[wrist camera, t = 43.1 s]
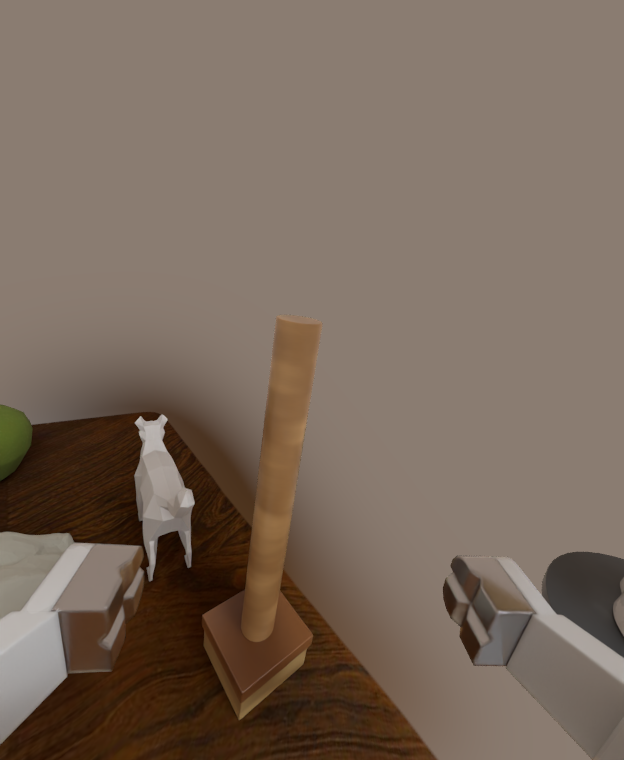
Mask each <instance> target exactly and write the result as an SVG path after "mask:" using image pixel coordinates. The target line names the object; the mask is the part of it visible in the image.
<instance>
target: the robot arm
mask: <svg viewBox="0 0 624 760" xmlns="http://www.w3.org/2000/svg"><path fill="white" fill-rule="evenodd" d="M143 558H144V552H143V547H142V546H133V545H116V544H99V543H97V544H92V543H73V544H72V545H70V546H69V547H68V548H67V549H66V550H65V551H64V553H63V554H62V555H61V557H60V558H59V559H58V561H57V562H56V563H55V565H54V566H53V567H52V569H51V570H50V571H49V573H48V574H47V576H46V577H45V578H44V580H43V581H42V582H41V584H40V585H39V586H38V588H37V589H36V590H35V592H34V593H33V594H32V596H31V597H30V598H29V600H28V601H27V602H26V604H25V605H24V606H23V608H22V609H21V610H20V611H11V612H10V613H8V614H7V615H5V616H4V617H2V618H1V619H0V744H1V743H2V742H3V741H4V740H5V739H6V738H7V737H8V736H9V735H10V734H11V733H12V732H13V731H14V730H15V729H16V728H17V727H18V726H19V725H20V724H21V723H22V722H23V721H24V720H25V719H26V718H27V717H28V716H29V715H30V714H31V713H32V712H33V711H34V710H35V709H36V708H37V707H38V706H39V705H40V704H41V703H42V702H43V701H44V700H45V699H46V698H47V697H48V696H49V695H50V694H51V693H52V692H53V690H54V689H55V688H56V687H57V686H58V685H59V684H60V683H61V682H62V681H63V680H64V679H65V678H66V677H67V673H86V672H107V671H112V670H113V667H114V665H115V662H116V660H117V658H118V655H119V653H120V650H121V648H122V645H123V643H124V641H125V638H126V629H125V624H127V623H128V622H129V621H130V620H131V619H132V618H133V617H134V616H135V614H136V611H137V609H138V606H139V603H140V600H141V596H142V592H143V587H144V571H143V570H142V569H141V568H140V565H141V563H142V561H143ZM451 568H452V570H453V573H452V574H451V575H449V576H448V577H447V578H446V579H445V583H444V586H443V596H444V597H443V598H444V602H445V606H446V609H447V611H448V613H449V615H450V618H451V619H452V620H454V622H456V623H457V624H458V625H459V626H460V627H461V628H460V638H461V640H462V642H463V644H464V646H465V649H466V650H467V652H468V655H469V657H470V659H471V661H472V663H473V665H475V666H476V665H477V666H506V669H507V670H508V671H509V672H510V673H511V674H512V675H513V677H515V679H516V680H517V681H518V682H519V683H520V684H521V685H522V686H523V687H524V688H525V689H526V690H527V691H528V692H529V693H530V694H531V695H532V696H533V698H534V699H535V700H536V701H537V702H538V703H539V704H540V705H541V706H542V707H543V708H544V709H545V710H546V711H547V712H548V713H549V714H550V715H551V717H552V718H553V719H554V720H555V721H556V722H557V723H558V724H559V725H560V726H561V727H562V728H563V729H564V730H565V731H566V732H567V733H568V734H569V735H570V737H572V739H573V740H574V741H576V743H577V744H578V745H579V746H580V747H581V748H582V749H583V750H584V751H585V752H586V753H587V754H588V755H589V757H590V758H591V759H592V760H624V658H623V657H622V656H620V655H619V654H617V653H616V652H615V651H613V650H612V649H610V648H609V647H607V646H606V645H605V644H603V643H602V642H600V641H599V640H598V639H596V638H595V637H593V636H592V635H590V634H589V633H588V632H586V631H585V630H583V629H582V628H580V627H579V626H578V625H576V624H575V623H573V622H572V621H570V620H569V619H568V618H566V617H565V616H563V615H557V614H556V613H555V612H554V610H553V609H552V608H551V606H550V605H549V604H548V603H547V601H546V600H545V599H544V598H543V596H542V595H541V594H540V593H539V592H538V590H537V589H536V588H535V586H534V585H533V584H532V583H531V581H530V580H529V579H528V577H527V576H526V575H525V574H524V572H523V571H522V570H521V569H520V567H519V566H518V565H517V564H516V562H515V561H514V560H512V559H511V558H509V557H489V556H456V557H455V558H454V559H453V560H452V563H451ZM620 588H621V592H622V593H621V595H620V596H619V597H618V598H617V599H616V601H615V602H614V605H613V614H614V618H615V621H616V623H617V625H618V627H619V629H620V631H621V633H622V634H623V636H624V578H623V579H622V580H621V581H620Z"/></svg>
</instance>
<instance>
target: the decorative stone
mask: <svg viewBox="0 0 624 760" xmlns="http://www.w3.org/2000/svg"><path fill="white" fill-rule="evenodd" d="M73 543H74V541H73V539H72V537H71V535H70V534H69V533H65V534H61V533H53V534H48V535H26V534H21V533H16V532H2V533H0V619H1V618H2V617H4V616H5V615H7V614H8V613H10V612H11V611H20V610H21V609H22V608H23V606H24V605H25V604H26V602H27V601H28V600H29V598H30V597H31V596H32V594H33V593H34V592H35V590H36V589H37V588H38V586H39V585H40V584H41V582H42V581H43V580H44V578H45V577H46V576H47V574H48V573H49V571H50V570H51V569H52V567H53V566H54V565H55V563H56V562H57V561H58V559H59V558H60V557H61V555H62V554H63V553H64V551H65V550H66V549H67V548H68V547H69V546H70V545H72V544H73Z"/></svg>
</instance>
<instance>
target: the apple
mask: <svg viewBox="0 0 624 760" xmlns="http://www.w3.org/2000/svg"><path fill="white" fill-rule="evenodd" d="M32 429H33V428H32V426H31V423H30V421H29V420H28V418H27V417H26V415H25V414H24V413H23V412H21V411H19V410H16V409H14V408H11V407H8V406H5V405H0V481H1V480H3V479H4V478H6V477H7V476H8V475H10V474H11V473H13V472H14V471H15V470H16V469H17V467H18V466H19V464H20V463H21V461H22V459H23V458H24V456H25V454H26V452H27V451H28V449H29V447H30V446H31V439H32Z"/></svg>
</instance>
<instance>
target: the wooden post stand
mask: <svg viewBox="0 0 624 760" xmlns="http://www.w3.org/2000/svg"><path fill="white" fill-rule="evenodd" d="M321 330H322V322H320V321H319V320H316V319H312V318H307V317H303V316H295V315H278V316H277V317H276V325H275V333H274V342H273V351H272V360H271V368H270V377H269V385H268V394H267V403H266V411H265V421H264V430H263V438H262V446H261V456H260V464H259V473H258V481H257V490H256V498H255V507H254V516H253V524H252V533H251V542H250V551H249V559H248V568H247V577H246V585H245V590H243V591H242V592H240V593H238V594H237V595H235V596H233V597H232V598H230V599H228V600H226V601H225V602H223V603H221V604H220V605H218V606H216V607H215V608H213V609H211V610H210V611H208V612H206V613H205V614H203V615H202V627H203V629H204V631H205V632H204V648H205V650H206V652H207V654H208V656H209V658H210V660H211V663H212V665H213V667H214V669H215V671H216V673H217V675H218V677H219V679H220V682H221V684H222V686H223V688H224V690H225V692H226V694H227V696H228V698H229V700H230V703H231V705H232V707H233V709H234V711H235V713H236V715H237V717H238V719H239V720H240V719H242V718H243V717H244V716H245V715H246V714H247V713H248V712H250V711H251V710H252V709H253V708H254V707H255V706H256V705H258V704H259V703H260V702H261V701H262V700H263V699H264V698H265V697H267V696H268V695H269V694H270V693H271V692H272V691H273V690H275V689H276V688H277V687H278V686H279V685H280V684H281V683H283V682H284V681H285V680H286V679H287V678H288V677H289V676H291V675H292V674H293V673H294V672H295V671H296V670H297V669H299V668H300V667H301V666H302V665H303V664H304V660H305V655H306V650H307V648H308V647H309V646H310V645H311V643H312V638H313V634H312V633H311V631H310V630H309V629H308V627H307V626H306V625H305V623H304V622H303V621H302V619H301V618H300V617H299V615H298V614H297V613H296V611H295V610H294V609H293V607H292V606H291V605H290V603H289V602H288V601H287V599H286V598H285V597H284V595H283V594H282V593H281V591H280V585H281V579H282V573H283V566H284V560H285V554H286V548H287V541H288V535H289V529H290V523H291V517H292V511H293V504H294V498H295V492H296V486H297V479H298V473H299V467H300V461H301V454H302V448H303V442H304V436H305V430H306V424H307V417H308V411H309V405H310V399H311V392H312V386H313V379H314V374H315V367H316V361H317V355H318V349H319V343H320V336H321Z"/></svg>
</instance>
